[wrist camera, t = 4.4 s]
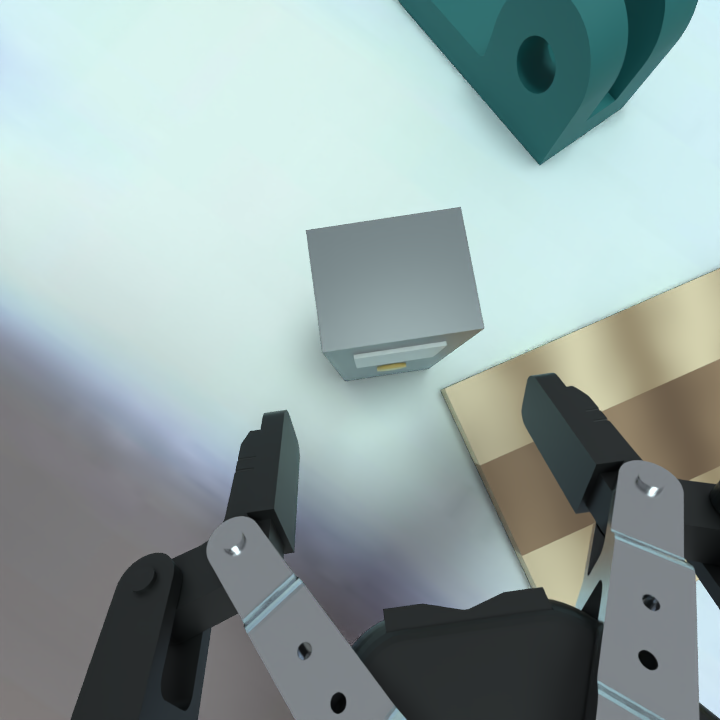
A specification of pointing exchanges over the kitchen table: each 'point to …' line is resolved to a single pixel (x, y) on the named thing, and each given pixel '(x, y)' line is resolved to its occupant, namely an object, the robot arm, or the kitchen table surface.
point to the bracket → (553, 57)
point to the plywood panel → (618, 403)
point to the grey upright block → (393, 292)
